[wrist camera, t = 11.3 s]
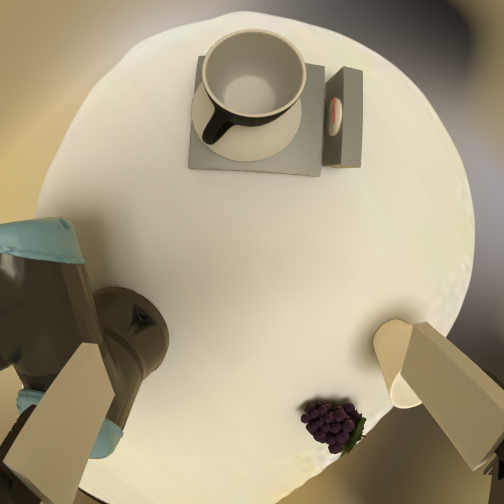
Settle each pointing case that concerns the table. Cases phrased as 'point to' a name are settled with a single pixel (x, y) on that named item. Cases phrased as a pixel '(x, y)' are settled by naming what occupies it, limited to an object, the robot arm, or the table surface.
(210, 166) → the scale
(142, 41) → the table surface
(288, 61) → the mug
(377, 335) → the cup
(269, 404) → the table surface
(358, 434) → the fruit
